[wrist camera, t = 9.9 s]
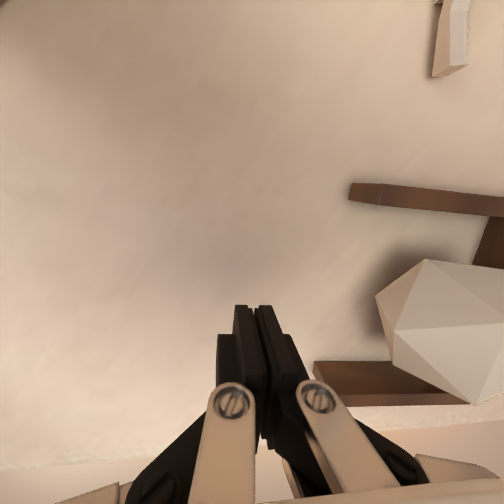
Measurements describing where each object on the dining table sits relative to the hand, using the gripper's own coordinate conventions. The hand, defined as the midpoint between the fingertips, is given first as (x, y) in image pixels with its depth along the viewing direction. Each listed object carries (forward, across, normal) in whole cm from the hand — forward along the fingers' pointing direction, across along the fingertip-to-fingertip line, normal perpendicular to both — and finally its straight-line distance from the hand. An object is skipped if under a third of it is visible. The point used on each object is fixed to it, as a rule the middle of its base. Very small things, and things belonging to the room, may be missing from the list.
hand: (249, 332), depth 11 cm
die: (+7, -15, +2) cm, 16 cm away
